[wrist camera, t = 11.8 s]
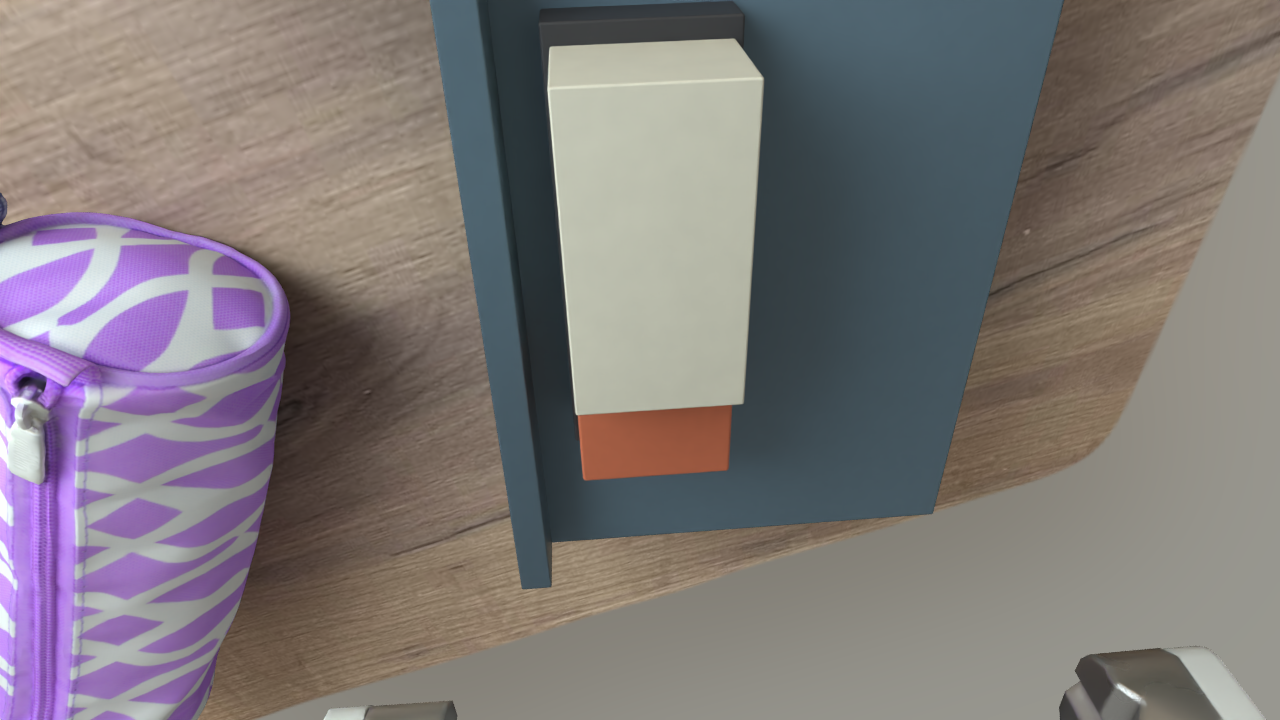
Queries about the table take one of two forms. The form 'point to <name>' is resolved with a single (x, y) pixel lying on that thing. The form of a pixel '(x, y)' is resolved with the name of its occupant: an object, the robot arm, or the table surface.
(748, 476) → the grey lipped base tray
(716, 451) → the cream and orange block
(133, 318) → the pencil case
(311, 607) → the table surface
